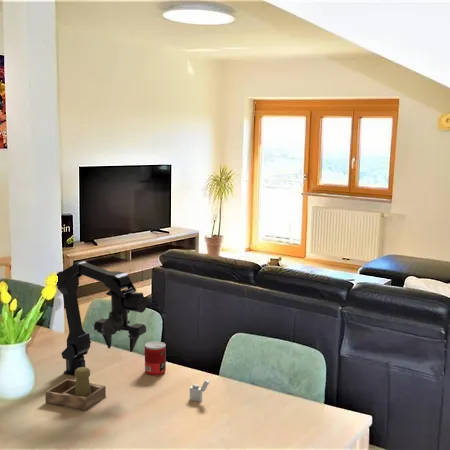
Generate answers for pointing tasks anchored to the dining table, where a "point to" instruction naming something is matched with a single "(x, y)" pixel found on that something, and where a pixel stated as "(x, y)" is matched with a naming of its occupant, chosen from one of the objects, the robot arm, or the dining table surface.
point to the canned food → (155, 358)
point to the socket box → (66, 395)
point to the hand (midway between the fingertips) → (120, 350)
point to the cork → (82, 382)
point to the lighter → (198, 391)
